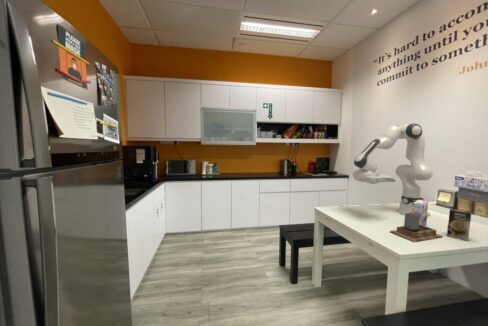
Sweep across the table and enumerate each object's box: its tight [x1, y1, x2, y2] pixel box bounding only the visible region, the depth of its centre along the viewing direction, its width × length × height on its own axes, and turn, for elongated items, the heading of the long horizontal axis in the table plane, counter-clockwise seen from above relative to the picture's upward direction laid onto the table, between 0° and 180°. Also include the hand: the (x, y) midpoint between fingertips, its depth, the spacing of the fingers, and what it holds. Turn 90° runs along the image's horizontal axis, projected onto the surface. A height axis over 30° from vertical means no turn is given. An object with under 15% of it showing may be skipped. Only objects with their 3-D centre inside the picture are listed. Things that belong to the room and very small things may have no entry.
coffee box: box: [446, 208, 472, 241], centre depth 127 cm, size 9×6×16 cm
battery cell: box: [403, 212, 420, 232], centre depth 128 cm, size 5×5×13 cm
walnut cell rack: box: [389, 224, 444, 243], centre depth 130 cm, size 24×14×4 cm, turn 108°
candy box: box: [413, 200, 429, 226], centre depth 146 cm, size 14×6×16 cm, turn 129°
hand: (389, 180), depth 147 cm, fingers open, 8 cm apart
